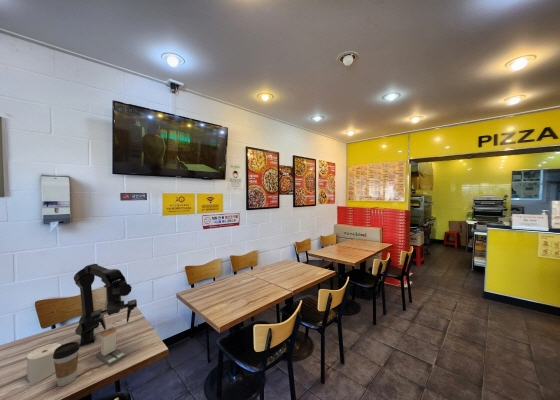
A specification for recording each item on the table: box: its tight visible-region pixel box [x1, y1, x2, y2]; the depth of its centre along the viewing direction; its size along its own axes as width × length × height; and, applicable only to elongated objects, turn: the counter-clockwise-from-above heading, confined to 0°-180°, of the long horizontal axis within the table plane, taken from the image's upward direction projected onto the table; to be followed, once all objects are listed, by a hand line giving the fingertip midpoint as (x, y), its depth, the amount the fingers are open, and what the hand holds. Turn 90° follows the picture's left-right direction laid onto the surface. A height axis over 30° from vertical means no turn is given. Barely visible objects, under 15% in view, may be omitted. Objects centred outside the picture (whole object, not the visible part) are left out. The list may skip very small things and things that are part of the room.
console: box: [95, 348, 127, 367], centre depth 109 cm, size 14×7×2 cm, turn 61°
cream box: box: [100, 326, 117, 356], centre depth 110 cm, size 3×5×11 cm, turn 151°
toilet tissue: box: [26, 343, 62, 386], centre depth 100 cm, size 11×12×10 cm
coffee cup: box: [53, 341, 81, 387], centre depth 95 cm, size 8×8×15 cm
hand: (116, 325), depth 112 cm, fingers open, 9 cm apart
